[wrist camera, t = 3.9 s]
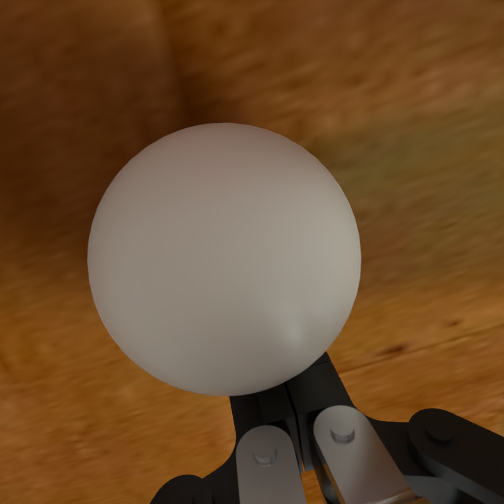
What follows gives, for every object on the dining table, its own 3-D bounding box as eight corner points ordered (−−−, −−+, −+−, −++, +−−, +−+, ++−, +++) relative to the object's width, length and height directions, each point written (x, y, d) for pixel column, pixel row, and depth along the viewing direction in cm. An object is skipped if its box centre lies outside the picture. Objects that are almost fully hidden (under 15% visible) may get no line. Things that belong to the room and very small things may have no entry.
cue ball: (153, 350, 13) (98, 160, 12) (336, 306, 13) (301, 115, 12) (100, 501, 7) (-24, 149, 6) (433, 417, 7) (386, 61, 6)
